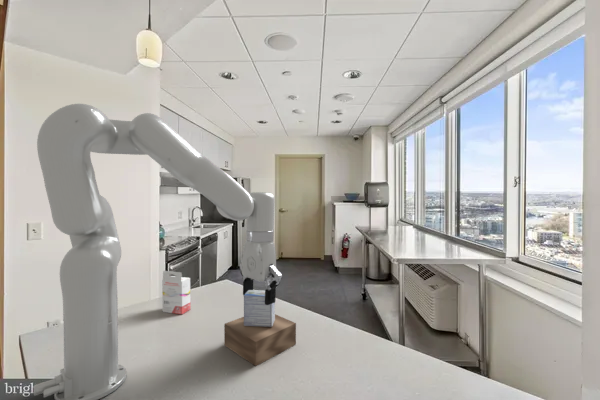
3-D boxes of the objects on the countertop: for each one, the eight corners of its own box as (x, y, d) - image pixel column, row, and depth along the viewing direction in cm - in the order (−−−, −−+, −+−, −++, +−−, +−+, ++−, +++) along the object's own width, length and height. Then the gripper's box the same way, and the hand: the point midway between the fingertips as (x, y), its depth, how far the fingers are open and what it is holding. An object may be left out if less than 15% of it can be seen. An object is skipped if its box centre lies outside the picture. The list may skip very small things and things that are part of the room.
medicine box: (275, 320, 81) (275, 290, 81) (272, 327, 77) (272, 295, 77) (247, 319, 82) (247, 289, 82) (243, 326, 78) (243, 294, 77)
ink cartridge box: (191, 309, 104) (191, 269, 104) (181, 315, 99) (181, 272, 99) (171, 306, 106) (171, 267, 106) (161, 312, 102) (161, 270, 101)
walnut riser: (255, 366, 70) (255, 341, 70) (224, 345, 79) (224, 323, 79) (295, 344, 80) (295, 323, 80) (263, 328, 89) (263, 309, 89)
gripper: (230, 234, 82) (229, 294, 82) (270, 242, 70) (268, 311, 70) (251, 232, 88) (250, 288, 88) (291, 239, 76) (290, 303, 76)
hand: (258, 298), depth 79 cm, fingers open, 9 cm apart
